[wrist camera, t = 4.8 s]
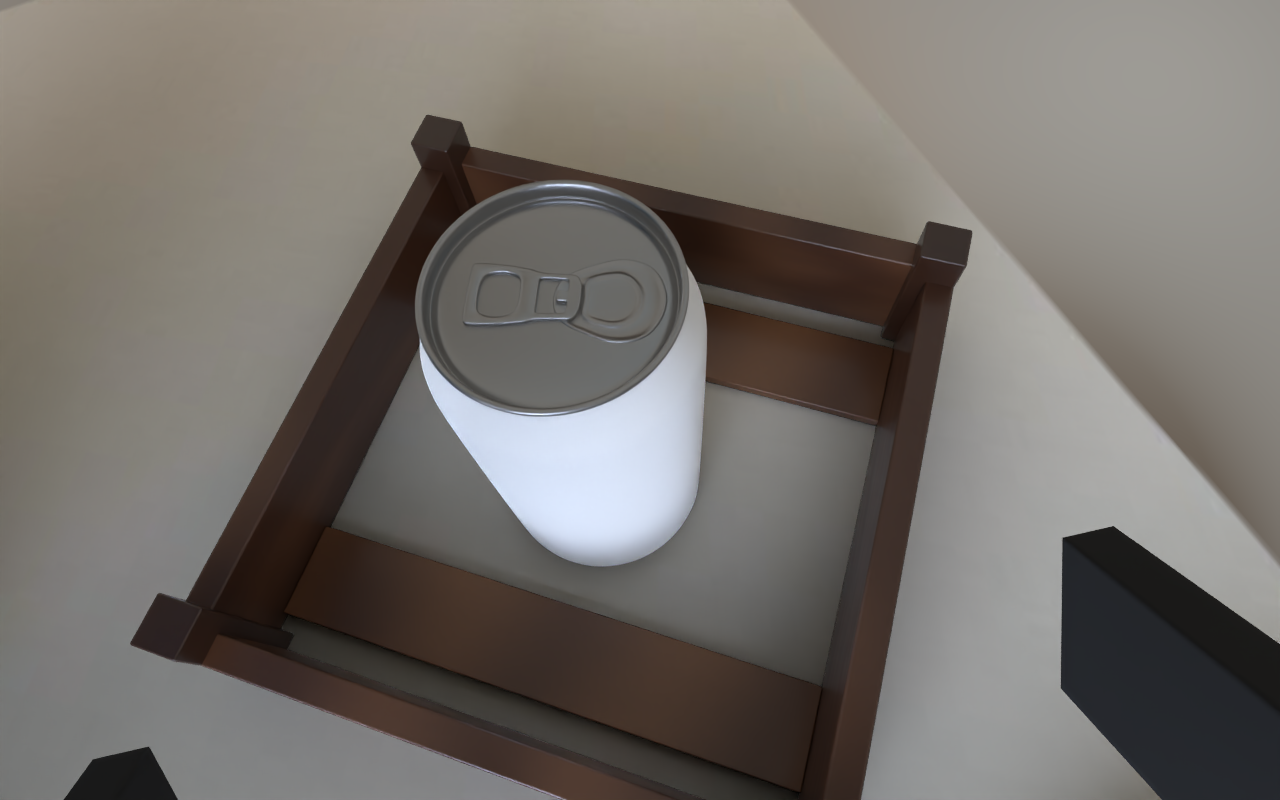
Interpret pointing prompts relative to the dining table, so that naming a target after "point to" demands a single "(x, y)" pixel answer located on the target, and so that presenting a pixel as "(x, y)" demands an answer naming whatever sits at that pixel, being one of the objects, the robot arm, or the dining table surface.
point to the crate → (545, 628)
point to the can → (571, 363)
